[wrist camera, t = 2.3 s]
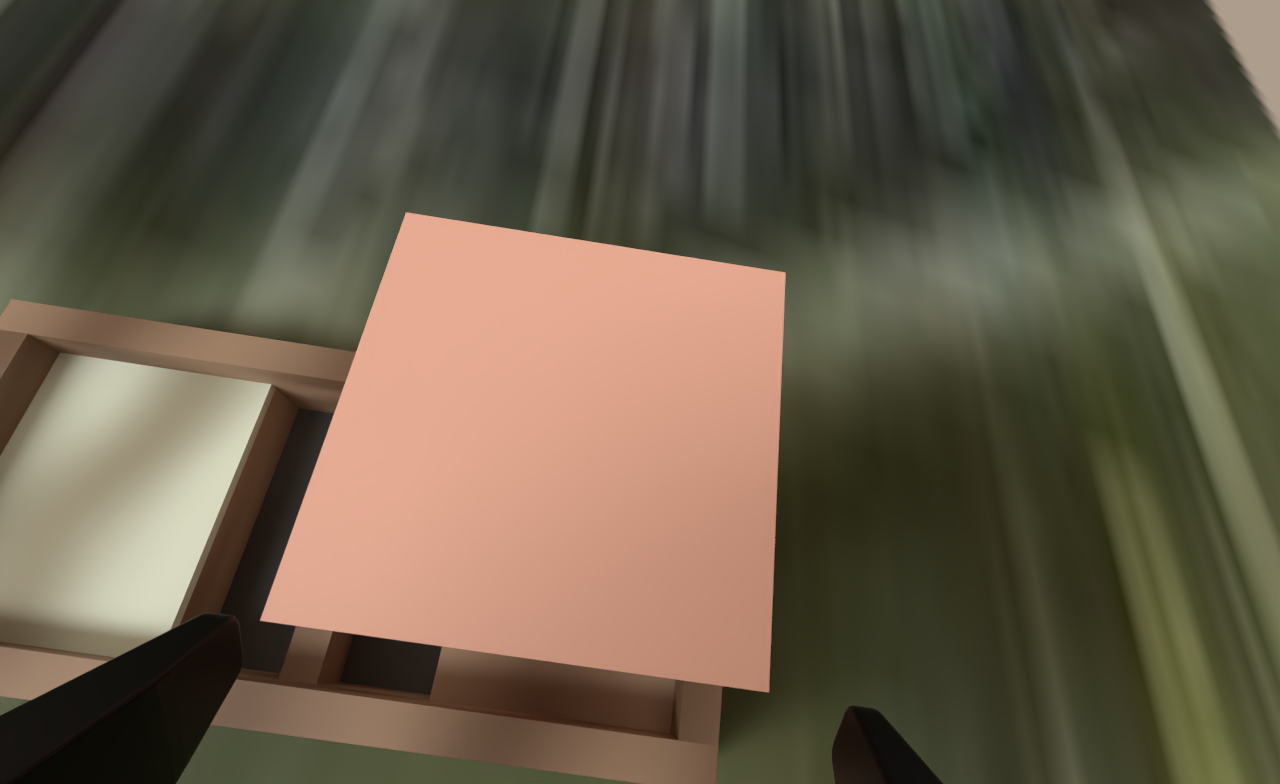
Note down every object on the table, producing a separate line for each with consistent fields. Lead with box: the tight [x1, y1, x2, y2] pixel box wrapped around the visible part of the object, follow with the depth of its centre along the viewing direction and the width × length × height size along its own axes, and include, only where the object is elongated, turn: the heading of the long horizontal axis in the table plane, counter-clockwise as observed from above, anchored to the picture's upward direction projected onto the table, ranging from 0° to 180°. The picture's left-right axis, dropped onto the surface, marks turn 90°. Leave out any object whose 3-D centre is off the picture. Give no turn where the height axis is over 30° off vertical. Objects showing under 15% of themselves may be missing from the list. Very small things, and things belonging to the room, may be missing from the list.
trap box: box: [0, 299, 722, 784], centre depth 18 cm, size 22×10×4 cm, turn 82°
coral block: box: [260, 213, 785, 692], centre depth 12 cm, size 5×5×12 cm
